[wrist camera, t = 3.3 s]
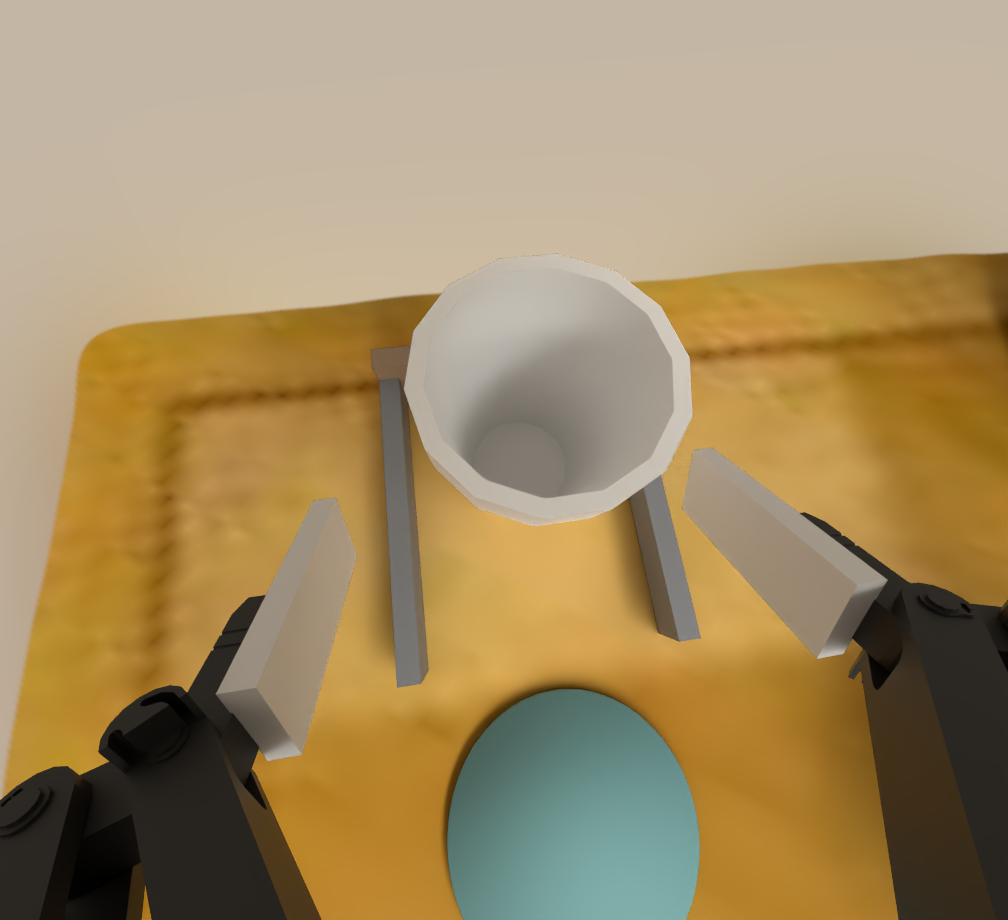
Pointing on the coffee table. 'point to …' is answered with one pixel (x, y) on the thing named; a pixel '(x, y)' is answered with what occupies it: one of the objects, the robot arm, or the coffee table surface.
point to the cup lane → (404, 547)
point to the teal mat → (572, 816)
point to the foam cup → (548, 388)
